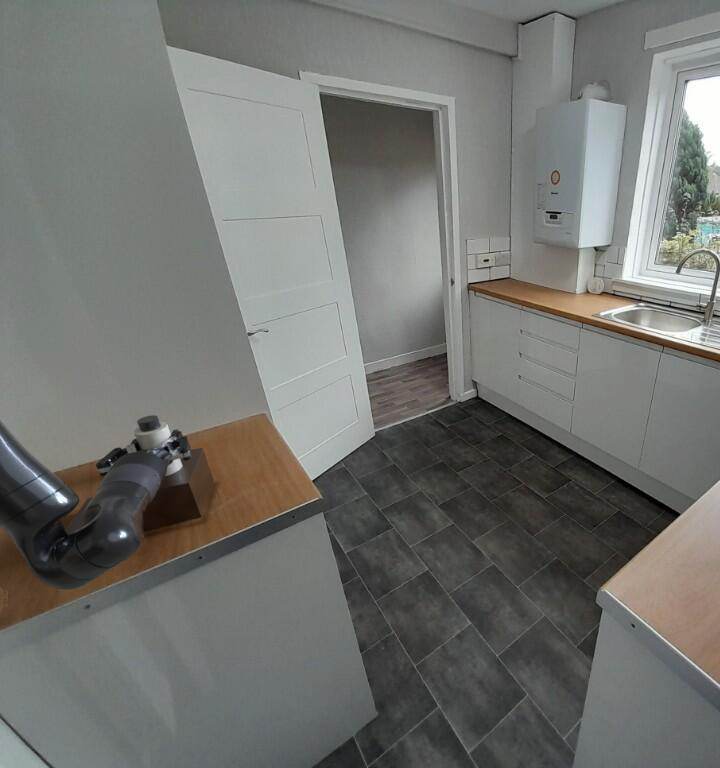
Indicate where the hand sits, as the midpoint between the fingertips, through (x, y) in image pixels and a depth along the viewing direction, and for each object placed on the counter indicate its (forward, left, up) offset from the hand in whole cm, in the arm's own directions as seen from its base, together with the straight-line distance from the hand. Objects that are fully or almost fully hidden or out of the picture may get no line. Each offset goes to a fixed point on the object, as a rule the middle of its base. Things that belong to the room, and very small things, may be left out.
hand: (159, 436), depth 84 cm
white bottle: (0, -3, -7) cm, 7 cm away
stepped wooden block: (-6, -3, -17) cm, 18 cm away
